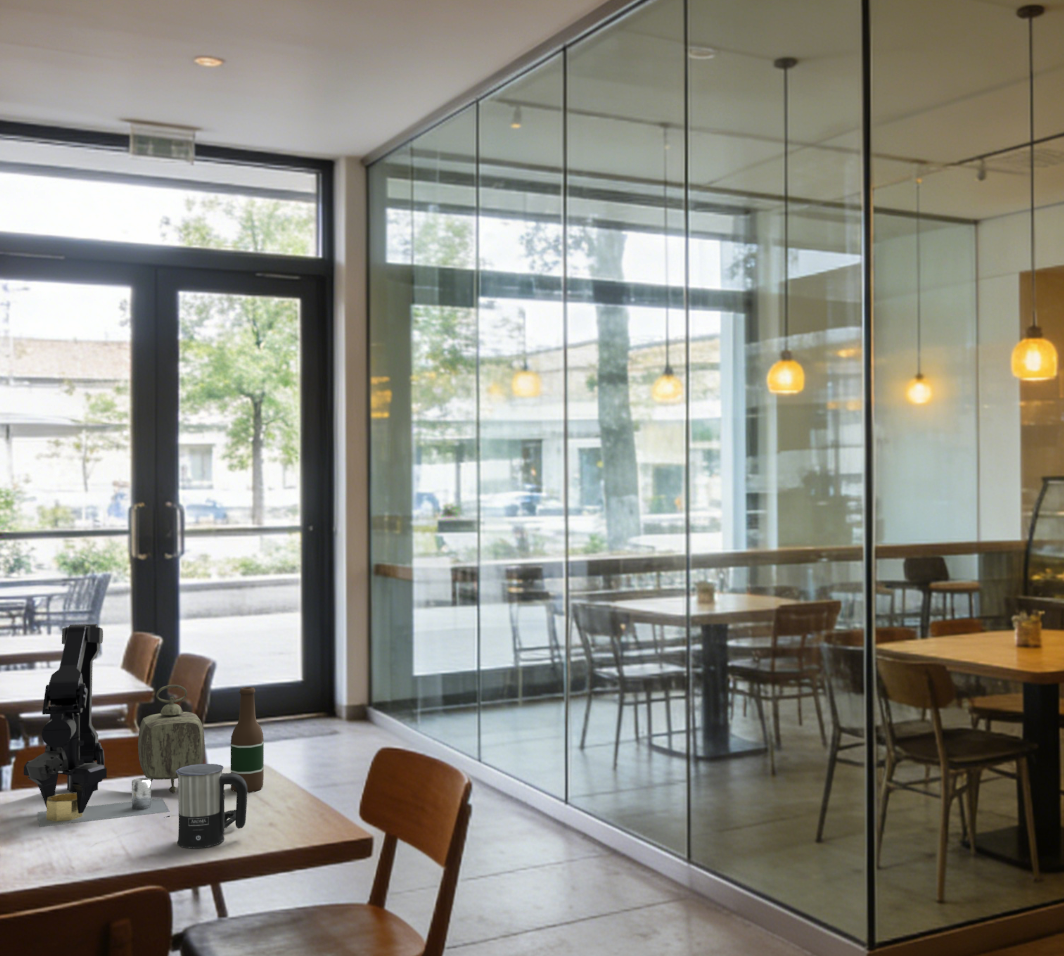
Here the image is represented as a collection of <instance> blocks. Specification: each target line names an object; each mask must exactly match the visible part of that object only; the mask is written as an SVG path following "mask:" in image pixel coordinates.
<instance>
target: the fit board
mask: <svg viewBox="0 0 1064 956" xmlns="http://www.w3.org/2000/svg"><path fill="white" fill-rule="evenodd" d="M161 813H170V810H169V808H168V806H167V803H166V802H165V800H164V798H163V797H159V798H152V782H151V779H150V778H146V777H139V778H138V777H137V778H135V779H134V778H133V779H132V780H131V801H123V802H117V803H116V802H115V803H106V804H105V803H104V804H98V805H91V806H89V805H87V806H86V808H85V810H84V812H83V814H82V817H79V818H76V819H73V820H66V821H51V820H47V810H45V811H44V810H43V811H37V818H38V819H37V820H38V827H39V828H41V827H43V828H44V827H51V826H57V825H58V826H59V825H60V826H61V825H68V824H76V823H86V822H94V821H101V820H103V821H104V820H109V819H119V818H127V817H134V816H136V817H137V816H144V815H153V814H161ZM165 817H166V818H170V817H171V815H167V816H165ZM165 817H163V818H165Z"/></svg>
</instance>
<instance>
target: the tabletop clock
mask: <svg viewBox="0 0 1064 956" xmlns="http://www.w3.org/2000/svg"><path fill="white" fill-rule="evenodd" d="M171 688H172V689H173V688H174V689H176V688H177V689H179V690H183V691H184V696H181V697H180V698H177V699H175V697H174V696H170V697H169V699H163V698H160V697H159V694H160V693H161V692H162V691H164V690H166V689H171ZM187 696H188V691H187V688H185V687H184V686H181V684H168V685H165V686H162V687H160V688H159V689H158V690H157V692H156V696H155V697H156V699H157V700H158V701H159V702H161V703H165V705H164V706H163V707H162V708H161V710H160V713H155V714H150V715H147V716H146V717H143V718H142V720H141V722H140V725H139V730H138V740H137V749H138V759H139V764H140V768H141V770H142V772H143V775H144V776H145V777H144V778H150V779H151V783H152V782H153V780H158V781H159V780H160V781H162V780H170V784H171V786H170V787H169V789H168V791H169V792H170V793H171V794H174V793H176V792H177V788H176V787H175V780H176V779H177V780H178V775H177V773H176V771H177V770H178V769H180V768H182V767H185V766H190V765H197V764H204V759H205V750H206V748H205V747H206V740H205V731H204V726H203V724H202V721H201V719H200V718H199V717H198V715H197V714H196V713H193V712H189V711H183V709H182V707H181V706H180V705H179V704H177V703H178V702H182V701H184V699H186V698H187Z"/></svg>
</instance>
